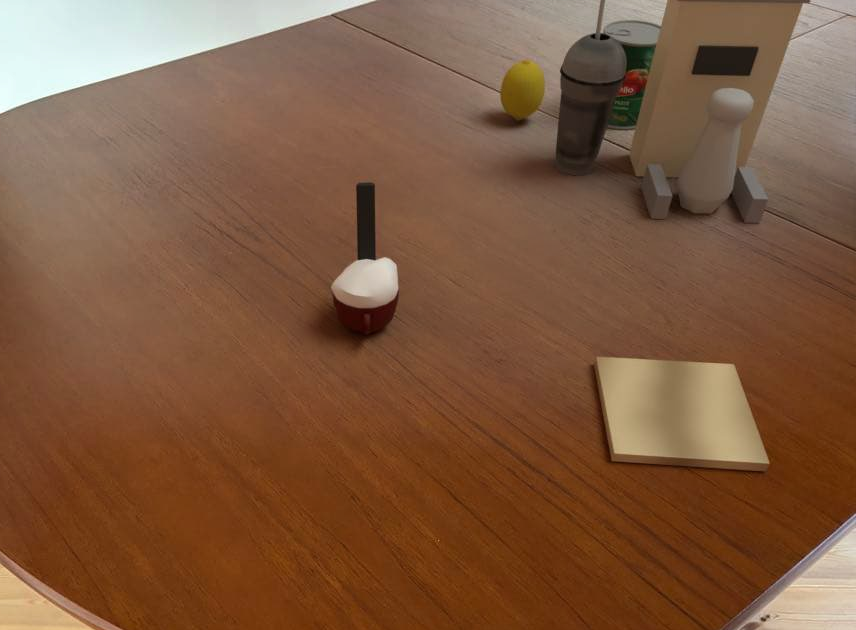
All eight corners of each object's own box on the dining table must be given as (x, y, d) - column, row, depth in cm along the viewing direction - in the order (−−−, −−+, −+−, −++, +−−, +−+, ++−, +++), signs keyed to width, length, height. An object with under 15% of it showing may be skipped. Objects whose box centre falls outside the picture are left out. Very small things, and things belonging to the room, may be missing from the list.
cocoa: (379, 355, 79) (384, 245, 71) (317, 339, 81) (315, 230, 73) (413, 298, 86) (420, 191, 77) (355, 284, 88) (356, 178, 79)
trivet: (730, 372, 77) (734, 363, 76) (766, 471, 68) (770, 463, 68) (593, 364, 78) (595, 356, 77) (611, 461, 69) (614, 453, 69)
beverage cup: (555, 183, 101) (589, 7, 87) (535, 154, 106) (563, -17, 93) (614, 177, 102) (657, 1, 88) (591, 149, 107) (627, -22, 93)
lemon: (491, 125, 112) (499, 64, 107) (503, 108, 116) (512, 48, 111) (533, 132, 111) (543, 71, 105) (544, 115, 114) (554, 54, 109)
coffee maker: (733, 156, 105) (803, -48, 89) (766, 223, 94) (852, 4, 78) (624, 153, 106) (673, -49, 90) (644, 218, 95) (704, 2, 79)
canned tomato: (645, 104, 116) (666, 21, 108) (651, 131, 110) (674, 45, 103) (584, 101, 117) (601, 18, 109) (587, 127, 111) (605, 42, 104)
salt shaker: (734, 203, 97) (774, 91, 88) (711, 224, 94) (750, 110, 85) (685, 186, 100) (719, 76, 91) (662, 205, 97) (694, 94, 88)
